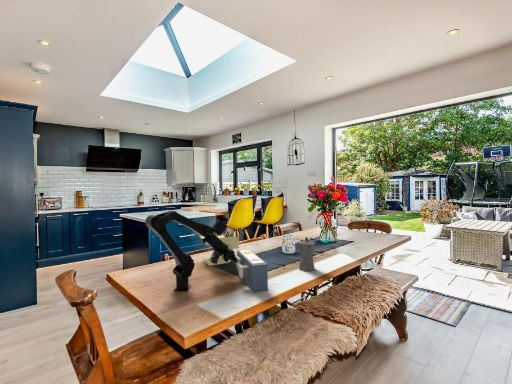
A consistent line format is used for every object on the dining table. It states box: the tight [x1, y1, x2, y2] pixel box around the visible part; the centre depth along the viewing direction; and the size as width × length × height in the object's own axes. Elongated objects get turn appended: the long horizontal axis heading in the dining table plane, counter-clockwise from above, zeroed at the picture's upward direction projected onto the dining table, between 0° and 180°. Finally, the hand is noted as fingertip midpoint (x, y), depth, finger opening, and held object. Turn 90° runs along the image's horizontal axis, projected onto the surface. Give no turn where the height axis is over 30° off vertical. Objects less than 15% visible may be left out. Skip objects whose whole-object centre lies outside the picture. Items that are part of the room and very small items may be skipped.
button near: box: [238, 264, 250, 279], centre depth 127 cm, size 6×5×5 cm
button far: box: [236, 255, 242, 269], centre depth 141 cm, size 6×5×5 cm
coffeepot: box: [298, 236, 316, 272], centre depth 153 cm, size 15×9×18 cm, turn 12°
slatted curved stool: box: [199, 233, 240, 267], centre depth 170 cm, size 30×16×18 cm, turn 29°
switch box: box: [236, 249, 269, 293], centre depth 135 cm, size 7×30×12 cm, turn 18°
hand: (236, 262), depth 141 cm, fingers closed
